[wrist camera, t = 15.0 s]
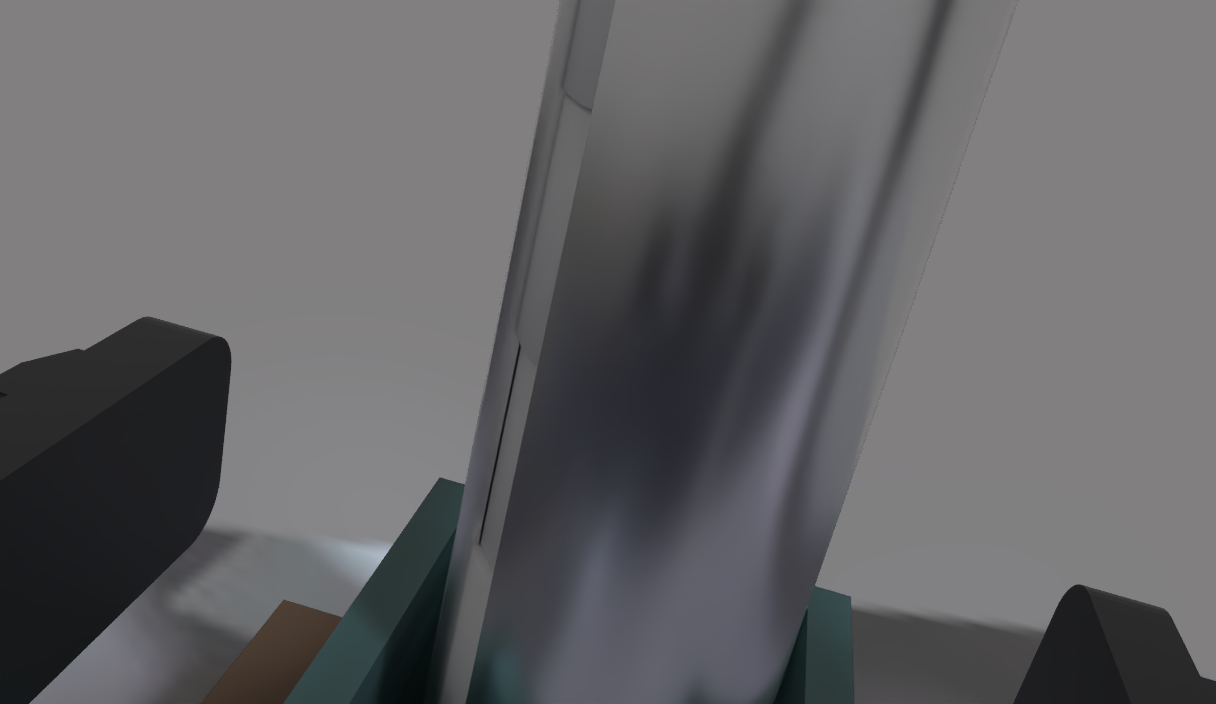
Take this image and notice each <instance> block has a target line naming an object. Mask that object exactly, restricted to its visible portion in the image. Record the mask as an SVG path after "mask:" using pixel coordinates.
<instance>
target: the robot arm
mask: <svg viewBox="0 0 1216 704" xmlns="http://www.w3.org/2000/svg"><path fill="white" fill-rule="evenodd" d="M230 373H231V352H230V348H229V345H228V343H227V341H226V340H225V339H224V338H222V337H219V336H215V335H212V334H209V333H205V332H201V331H198V330H195V329H191V328H188V327H184V326H180V325H177V324H174V323H170V322H167V321H163V320H160V319H156V318H153V317H143V318H141V319H138V320H136V321H135V322H133V323H131V324H130V325H128V326H126V327H124V328H123V329H121V330H119V331H118V332H116V333H114V334H112V335H110V336H109V337H107V338H105V339H104V340H102V341H100V342H98V343H97V344H95V345H93V346H92V347H90V348H88V349H86V350H80V349H75V350H71V351H67V352H63V353H59V354H55V355H51V356H47V357H43V358H39V359H35V360H31V361H27V362H22V363H20V364H19V365H16V366H15V367H13V368H11V369H9V370H7V371H6V372H4V373H2V374H0V704H29V703H30V702H31V701H32V700H33V699H34V698H35V697H36V696H37V695H38V694H39V693H40V692H41V691H42V690H43V689H44V688H46V687H47V686H48V685H49V684H50V683H51V682H52V681H53V680H54V679H55V678H56V677H57V676H58V675H59V674H60V673H61V672H62V671H63V670H64V669H65V668H66V667H67V666H68V665H69V664H70V663H71V662H72V661H73V660H74V659H75V658H76V657H77V656H78V655H79V654H80V653H81V652H82V651H83V650H84V649H85V648H86V647H87V646H88V645H89V644H90V643H91V642H93V641H94V640H95V639H96V638H97V637H98V636H99V635H100V634H101V633H102V632H103V631H104V630H105V629H106V628H107V627H108V626H109V625H110V624H111V623H112V622H113V621H114V620H115V619H116V618H117V617H118V616H119V615H120V614H121V613H122V612H123V611H124V610H125V609H126V608H127V607H128V606H129V605H130V604H131V603H132V602H133V601H134V600H135V599H136V598H137V597H139V596H140V595H141V594H142V593H143V592H144V591H145V590H146V589H147V588H148V587H149V586H150V585H151V584H152V583H153V582H154V581H155V580H156V579H157V578H158V577H159V576H160V575H161V574H162V573H163V572H164V571H165V570H166V569H167V568H168V567H169V566H170V565H171V564H172V563H173V562H174V561H175V560H176V559H177V558H178V557H179V556H180V555H181V554H182V553H183V552H184V551H186V550H187V549H188V548H189V547H190V546H191V544H192V543H193V542H194V541H195V540H196V539H197V537H198V536H199V534H200V533H201V531H202V530H203V528H204V526H205V524H206V522H207V520H208V518H209V516H210V514H211V511H212V509H213V506H214V503H215V500H216V496H217V492H218V488H219V482H220V474H221V464H222V454H223V443H224V434H225V424H226V414H227V404H228V394H229V384H230ZM1013 704H1216V681H1213V680H1210V679H1206V678H1203V677H1200V675H1199V673H1198V671H1197V669H1196V667H1195V665H1194V662H1193V660H1192V658H1191V656H1190V654H1189V653H1188V650H1187V648H1186V646H1185V644H1184V642H1183V640H1182V638H1181V636H1180V634H1179V632H1178V630H1177V628H1176V626H1175V624H1174V622H1173V620H1172V618H1171V616H1170V615H1169V613H1168V612H1167V611H1166V610H1165V609H1163V608H1160V607H1157V606H1153V605H1150V604H1146V603H1143V602H1139V601H1136V600H1132V599H1129V598H1125V597H1122V596H1118V595H1114V594H1111V593H1108V592H1104V591H1101V590H1097V589H1093V588H1090V587H1087V586H1083V585H1075V586H1073V587H1071V588H1070V589H1069V590H1068V591H1067V592H1066V593H1065V595H1064V596H1063V598H1062V599H1061V601H1060V602H1059V604H1058V606H1057V608H1056V610H1055V613H1054V615H1053V617H1052V619H1051V621H1050V624H1049V626H1048V628H1047V630H1046V632H1045V635H1044V637H1043V639H1042V641H1041V643H1040V646H1039V648H1038V650H1037V652H1036V655H1035V657H1034V659H1033V661H1032V663H1031V666H1030V668H1029V670H1028V672H1027V674H1026V677H1025V679H1024V681H1023V683H1022V685H1021V688H1020V690H1019V692H1018V694H1017V697H1016V699H1015V701H1014V703H1013Z"/></svg>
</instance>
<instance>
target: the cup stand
mask: <svg viewBox="0 0 1216 704" xmlns="http://www.w3.org/2000/svg"><path fill="white" fill-rule="evenodd" d="M464 487H465V485H464V484H461V483H457V482H453V481H451V480H447V479H444V478H439V479H438V481H437V482H436V484H435V485H434V486H433V488H432V489H431V491H430V492H429V494H428V495H427V497H426V498H425V500H424V501H423V502H422V504H421V505H420V507H419V508H418V510H417V511H416V512H415V514H414V515H413V517H412V518H411V520H410V521H409V523H408V524H407V525H406V527H405V528H404V530H403V531H402V533H401V534H400V536H399V537H398V538H397V540H396V542H395V543H394V544H393V546H392V547H391V549H390V550H389V551H388V553H387V554H386V556H385V557H384V559H383V560H382V562H381V563H380V564H379V566H378V567H377V569H376V570H375V572H374V573H373V575H372V576H371V577H370V579H369V580H368V582H367V583H366V585H365V586H364V588H363V589H362V590H361V592H360V593H359V595H358V596H357V598H356V599H355V601H354V602H353V604H352V605H351V606H350V608H349V609H348V611H347V612H346V614H345V615H344V617H343V618H342V617H339V616H336V615H332V614H329V613H326V612H322V611H319V610H316V609H313V608H309V607H306V606H303V605H299V604H296V603H293V602H290V601H286V600H283V601H282V603H281V604H280V605H279V606H278V608H277V609H276V610H275V611H274V613H273V614H272V615H271V616H270V618H269V619H268V620H267V622H266V623H265V624H264V625H263V627H262V628H261V629H260V630H259V632H258V633H257V634H256V635H255V637H254V638H253V639H252V640H251V642H250V643H249V644H248V645H247V647H246V648H245V649H244V650H243V652H242V653H241V654H240V655H239V657H238V658H237V659H236V660H235V662H234V663H233V664H232V665H231V667H230V668H229V669H228V671H227V672H226V673H225V674H224V676H223V677H222V678H221V679H220V681H219V682H218V683H217V684H216V686H215V687H214V688H213V689H212V691H211V692H210V693H209V694H208V696H207V697H206V698H205V699H204V701H203V702H202V703H201V704H422V703H423V698H424V693H425V688H426V682H427V677H428V672H429V667H430V662H431V657H432V652H433V646H434V641H435V636H436V631H437V626H438V621H439V616H440V611H441V605H442V600H443V595H444V590H445V585H446V580H447V575H448V570H449V564H450V559H451V554H452V549H453V544H454V539H455V534H456V528H457V523H458V518H459V513H460V508H461V503H462V498H463V493H464ZM774 704H854V678H853V648H852V618H851V597H850V596H847V595H843V594H840V593H836V592H833V591H830V590H826V589H823V588H819V587H816V586H814V589H813V592H812V595H811V598H810V601H809V603H808V606H807V609H806V612H805V615H804V618H803V621H802V623H801V626H800V629H799V632H798V635H797V638H796V641H795V644H794V646H793V649H792V652H791V655H790V658H789V661H788V664H787V667H786V669H785V672H784V675H783V678H782V681H781V684H780V687H779V690H778V692H777V695H776V698H775V701H774Z"/></svg>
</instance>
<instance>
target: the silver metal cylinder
mask: <svg viewBox="0 0 1216 704" xmlns="http://www.w3.org/2000/svg"><path fill="white" fill-rule="evenodd" d="M1017 3H1018V0H559V5H558V10H557V15H556V20H555V26H554V31H553V36H552V41H551V46H550V51H549V57H548V62H547V67H546V72H545V77H544V82H543V87H542V92H541V97H540V102H539V108H538V113H537V118H536V123H535V128H534V133H533V138H532V144H531V149H530V154H529V159H528V165H527V169H526V174H525V180H524V185H523V190H522V195H521V200H520V205H519V210H518V215H517V220H516V226H515V231H514V236H513V241H512V246H511V251H510V256H509V262H508V267H507V272H506V277H505V282H504V287H503V292H502V297H501V303H500V308H499V313H498V318H497V323H496V329H495V333H494V339H493V344H492V349H491V354H490V359H489V365H488V369H487V375H486V380H485V385H484V390H483V395H482V400H481V405H480V411H479V416H478V421H477V426H476V431H475V436H474V442H473V446H472V451H471V457H470V462H469V467H468V472H467V477H466V482H465V487H464V493H463V498H462V503H461V508H460V513H459V518H458V523H457V528H456V534H455V539H454V544H453V549H452V554H451V559H450V564H449V570H448V575H447V580H446V585H445V590H444V595H443V600H442V605H441V611H440V616H439V621H438V626H437V631H436V636H435V641H434V646H433V652H432V657H431V662H430V667H429V672H428V677H427V682H426V688H425V693H424V698H423V703H422V704H774V701H775V698H776V695H777V692H778V690H779V687H780V684H781V681H782V678H783V675H784V672H785V669H786V667H787V664H788V661H789V658H790V655H791V652H792V649H793V646H794V644H795V641H796V638H797V635H798V632H799V629H800V626H801V623H802V621H803V618H804V615H805V612H806V609H807V606H808V603H809V601H810V598H811V595H812V592H813V589H814V586H815V583H816V580H817V578H818V575H819V572H820V569H821V566H822V563H823V560H824V557H825V555H826V552H827V549H828V546H829V543H830V540H831V537H832V534H833V531H834V529H835V526H836V523H837V520H838V517H839V514H840V512H841V509H842V506H843V503H844V500H845V497H846V494H847V491H848V489H849V486H850V483H851V480H852V477H853V474H854V471H855V468H856V466H857V463H858V460H859V457H860V454H861V451H862V448H863V445H864V443H865V440H866V437H867V434H868V431H869V428H870V425H871V422H872V420H873V417H874V414H875V411H876V408H877V405H878V402H879V400H880V396H881V394H882V391H883V388H884V385H885V382H886V379H887V376H888V374H889V371H890V368H891V365H892V362H893V359H894V356H895V354H896V351H897V348H898V345H899V342H900V339H901V336H902V333H903V331H904V328H905V325H906V322H907V319H908V316H909V313H910V311H911V308H912V305H913V302H914V299H915V296H916V293H917V290H918V287H919V285H920V282H921V279H922V276H923V273H924V270H925V267H926V265H927V262H928V259H929V256H930V253H931V250H932V247H933V244H934V241H935V239H936V236H937V233H938V230H939V227H940V224H941V222H942V218H943V216H944V213H945V210H946V207H947V204H948V201H949V199H950V196H951V193H952V190H953V187H954V184H955V181H956V178H957V176H958V173H959V170H960V167H961V164H962V161H963V158H964V156H965V153H966V150H967V147H968V144H969V141H970V138H971V135H972V133H973V130H974V127H975V124H976V121H977V118H978V115H979V112H980V109H981V107H982V104H983V101H984V98H985V95H986V92H987V89H988V87H989V83H990V81H991V78H992V75H993V72H994V69H995V66H996V64H997V61H998V58H999V55H1000V52H1001V49H1002V46H1003V43H1004V41H1005V38H1006V35H1007V32H1008V29H1009V26H1010V23H1011V20H1012V18H1013V15H1014V12H1015V9H1016V6H1017Z"/></svg>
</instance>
